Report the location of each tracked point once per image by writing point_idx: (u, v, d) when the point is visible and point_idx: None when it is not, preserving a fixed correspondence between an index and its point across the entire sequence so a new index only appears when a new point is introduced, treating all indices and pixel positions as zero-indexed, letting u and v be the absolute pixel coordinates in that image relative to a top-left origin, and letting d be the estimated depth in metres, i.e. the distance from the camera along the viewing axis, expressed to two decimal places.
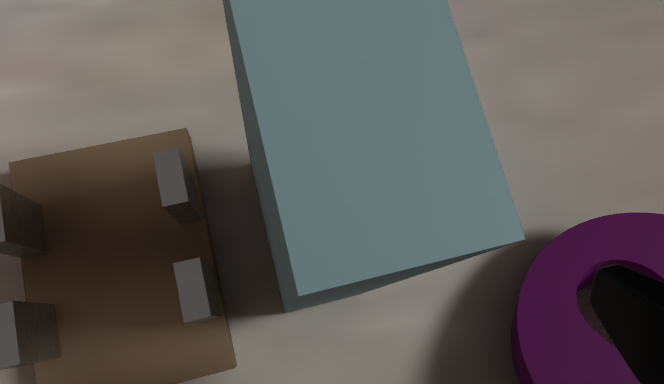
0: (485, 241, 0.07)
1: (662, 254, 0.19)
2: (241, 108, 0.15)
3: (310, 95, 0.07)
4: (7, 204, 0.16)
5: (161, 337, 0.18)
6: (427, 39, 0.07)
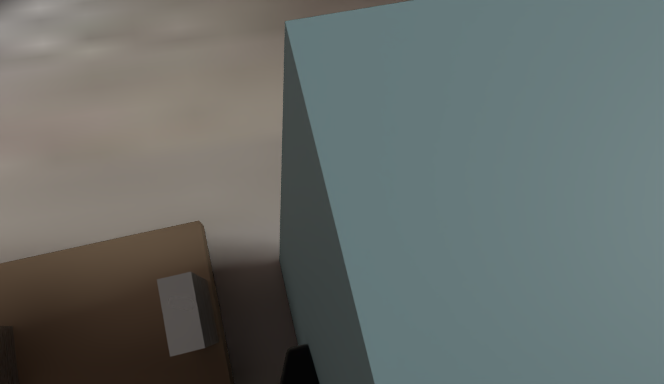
0: None
1: None
2: (280, 233, 0.11)
3: None
4: None
5: None
6: None
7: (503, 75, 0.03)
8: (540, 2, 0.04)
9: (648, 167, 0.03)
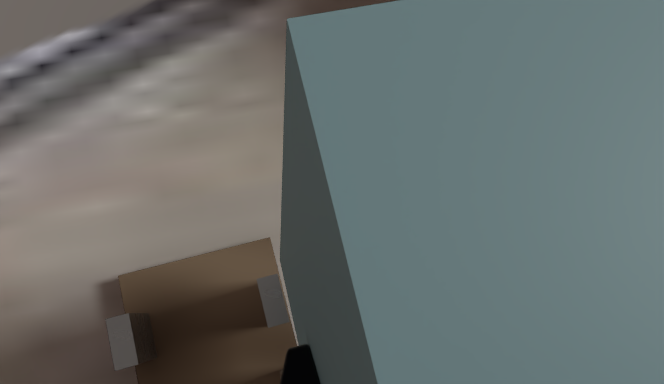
0: None
1: None
2: (281, 232, 0.11)
3: None
4: (134, 328, 0.19)
5: None
6: None
7: (506, 71, 0.03)
8: (541, 0, 0.04)
9: (649, 164, 0.03)
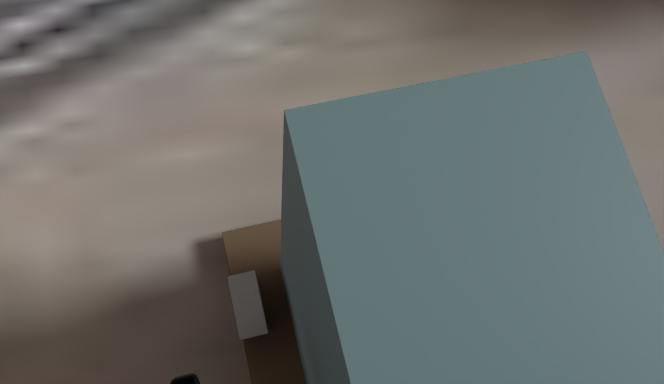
0: None
1: None
2: (281, 245, 0.13)
3: None
4: (259, 290, 0.15)
5: None
6: (662, 381, 0.04)
7: (438, 146, 0.05)
8: (466, 92, 0.05)
9: (540, 211, 0.05)
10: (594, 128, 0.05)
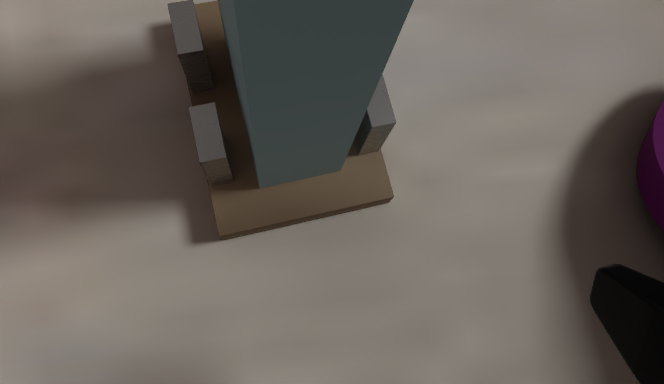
0: None
1: None
2: None
3: None
4: (197, 22, 0.17)
5: None
6: None
7: None
8: None
9: None
10: None
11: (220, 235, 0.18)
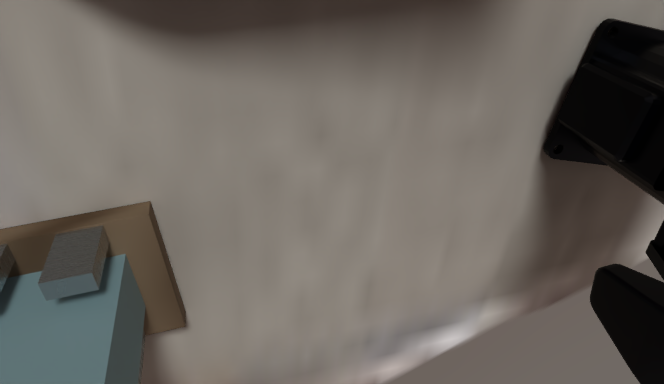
0: None
1: None
2: None
3: None
4: None
5: None
6: None
7: None
8: None
9: None
10: None
11: (184, 325, 0.25)
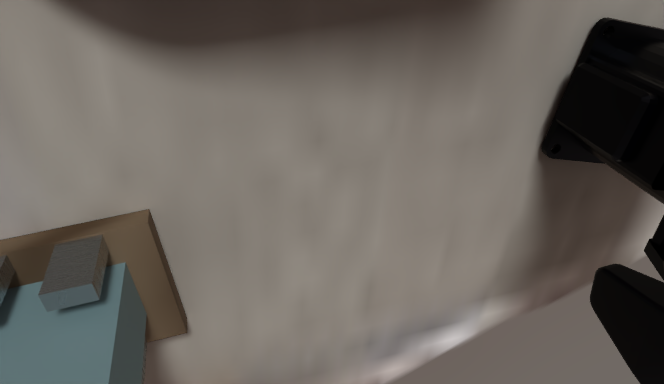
0: None
1: None
2: None
3: None
4: None
5: None
6: None
7: None
8: None
9: None
10: None
11: (186, 332, 0.25)
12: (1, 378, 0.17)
